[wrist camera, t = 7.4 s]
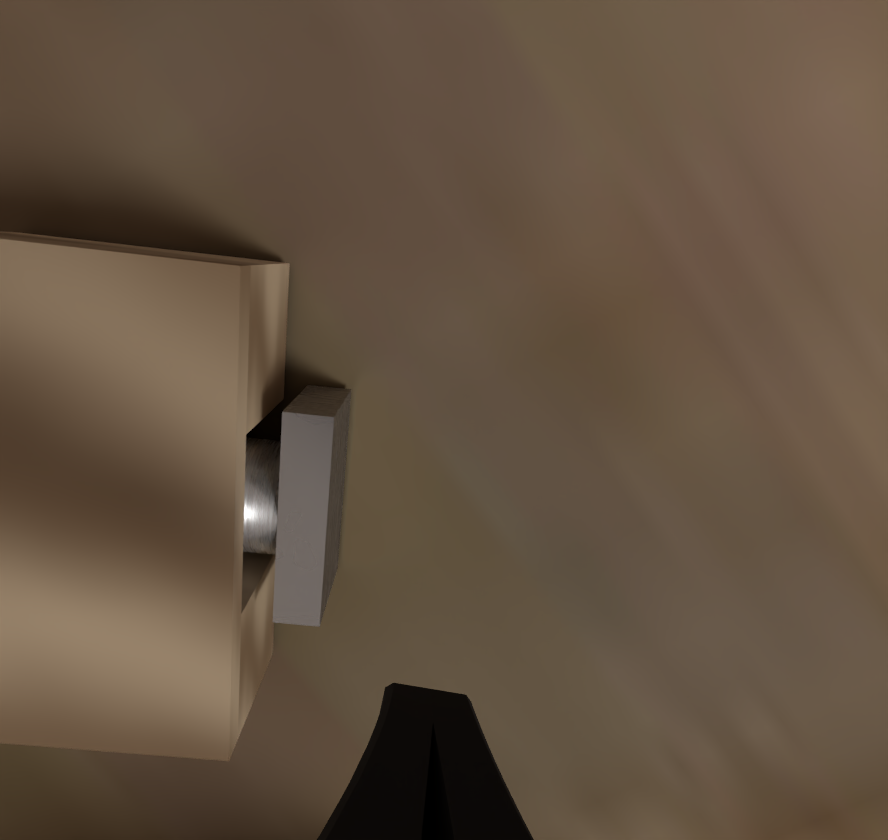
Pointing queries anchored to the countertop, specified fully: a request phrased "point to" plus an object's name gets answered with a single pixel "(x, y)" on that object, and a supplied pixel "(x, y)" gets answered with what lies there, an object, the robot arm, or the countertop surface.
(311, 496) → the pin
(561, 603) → the countertop surface
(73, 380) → the block
